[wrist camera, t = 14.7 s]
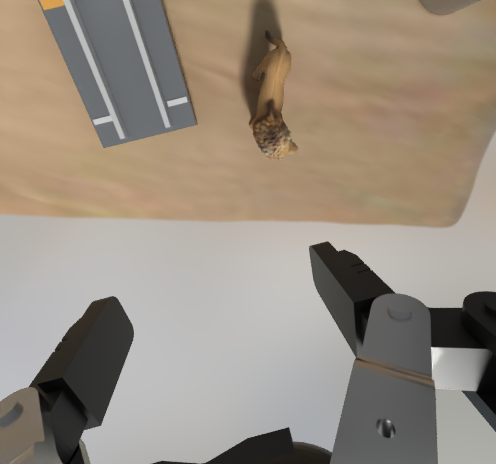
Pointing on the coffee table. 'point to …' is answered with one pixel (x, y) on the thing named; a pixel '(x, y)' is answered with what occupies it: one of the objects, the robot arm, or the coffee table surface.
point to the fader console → (122, 66)
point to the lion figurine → (272, 103)
